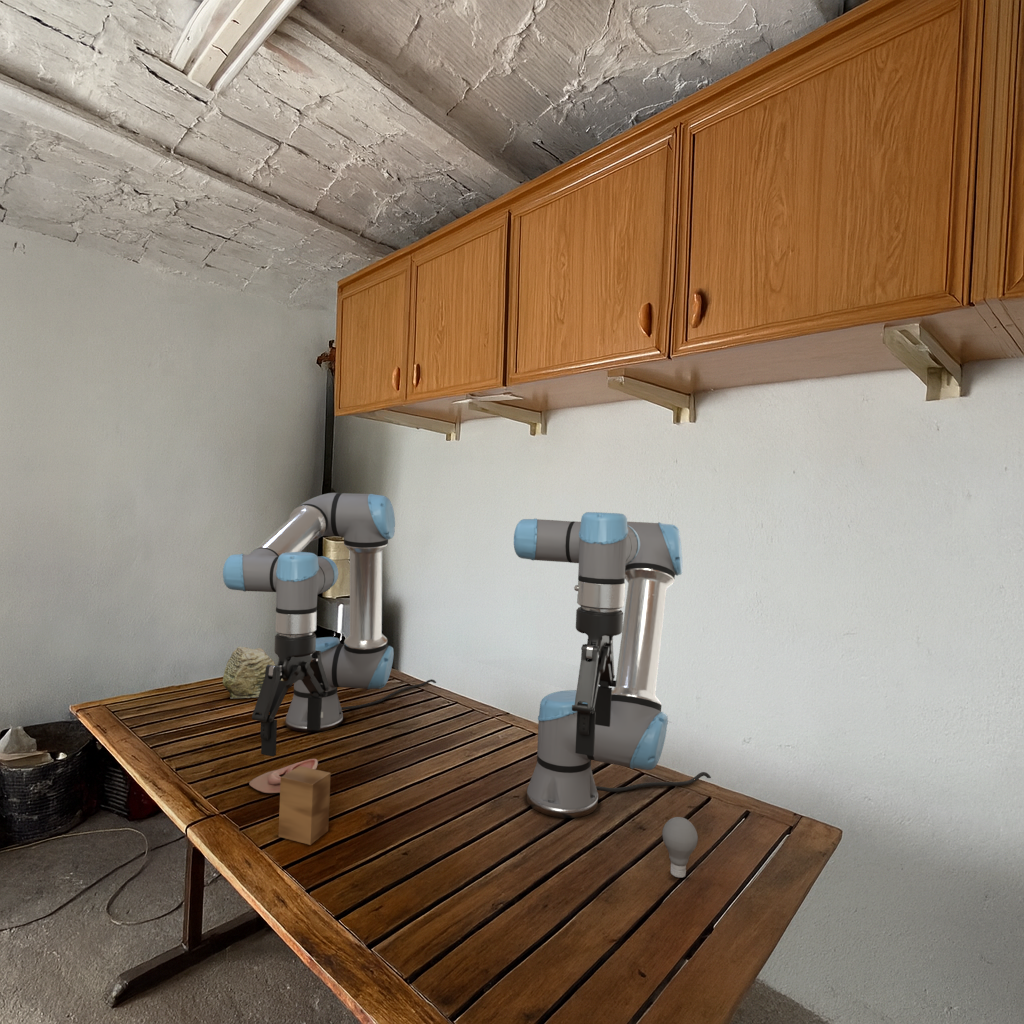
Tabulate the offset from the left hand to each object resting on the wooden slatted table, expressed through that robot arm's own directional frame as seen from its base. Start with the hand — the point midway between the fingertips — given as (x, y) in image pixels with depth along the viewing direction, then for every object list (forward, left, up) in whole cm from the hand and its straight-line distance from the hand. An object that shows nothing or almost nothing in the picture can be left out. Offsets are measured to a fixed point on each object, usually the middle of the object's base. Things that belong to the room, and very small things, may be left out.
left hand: (292, 741), depth 123 cm
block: (+1, +6, -16) cm, 17 cm away
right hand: (-19, +56, +11) cm, 60 cm away
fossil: (-35, -76, -16) cm, 85 cm away
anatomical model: (-8, -15, -16) cm, 23 cm away
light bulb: (-35, +65, -16) cm, 75 cm away
